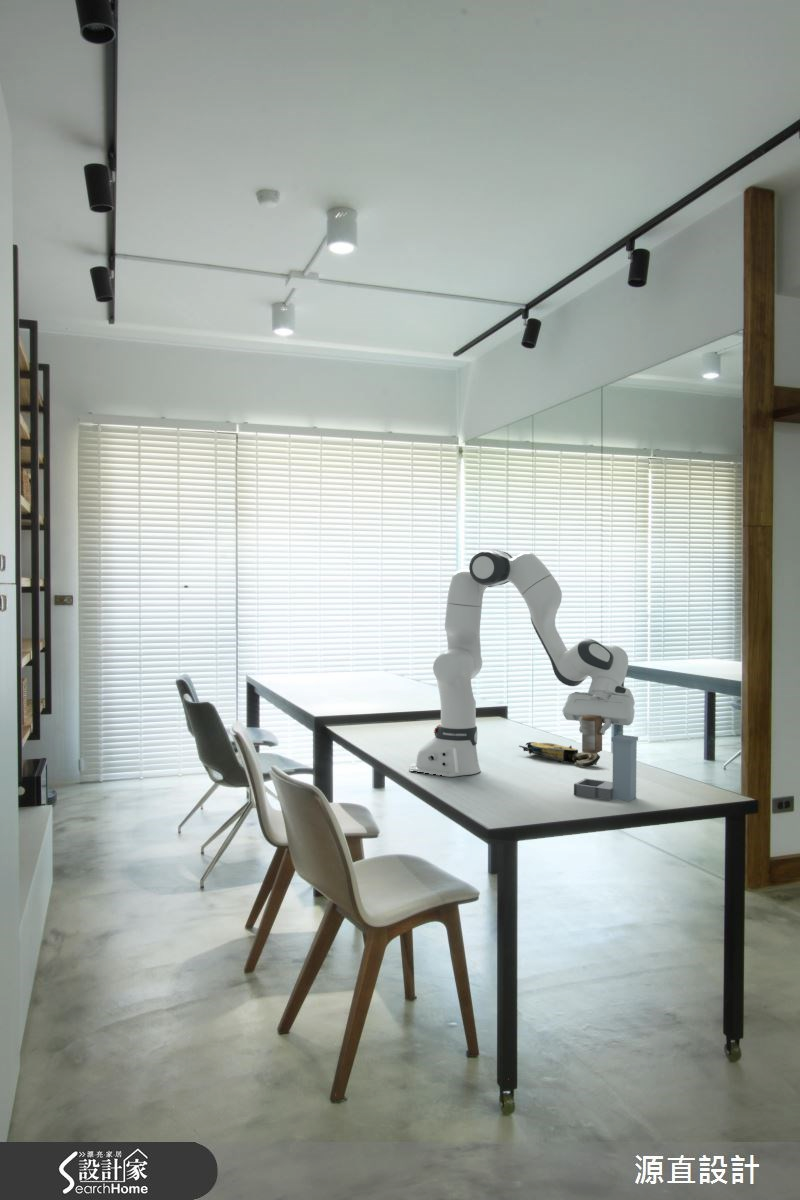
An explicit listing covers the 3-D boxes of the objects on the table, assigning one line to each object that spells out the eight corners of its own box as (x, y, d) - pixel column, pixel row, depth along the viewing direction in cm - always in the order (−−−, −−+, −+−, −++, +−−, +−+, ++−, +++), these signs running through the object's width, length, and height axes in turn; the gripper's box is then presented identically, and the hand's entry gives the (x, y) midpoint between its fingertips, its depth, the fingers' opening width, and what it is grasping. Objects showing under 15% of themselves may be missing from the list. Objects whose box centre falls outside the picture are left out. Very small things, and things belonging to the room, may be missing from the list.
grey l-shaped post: (573, 794, 238) (574, 734, 237) (585, 788, 245) (585, 730, 244) (629, 803, 229) (629, 740, 228) (639, 796, 236) (639, 735, 236)
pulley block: (581, 751, 267) (517, 736, 292) (579, 769, 267) (515, 753, 292) (611, 753, 275) (547, 738, 300) (609, 770, 275) (545, 755, 300)
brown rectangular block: (581, 752, 237) (581, 716, 237) (588, 749, 242) (588, 714, 242) (595, 753, 235) (595, 718, 235) (602, 750, 240) (602, 715, 240)
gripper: (567, 685, 250) (553, 722, 242) (635, 689, 239) (623, 729, 231) (572, 698, 254) (560, 735, 246) (640, 703, 242) (628, 742, 235)
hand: (591, 732), depth 238 cm, fingers closed on brown rectangular block, 4 cm apart
